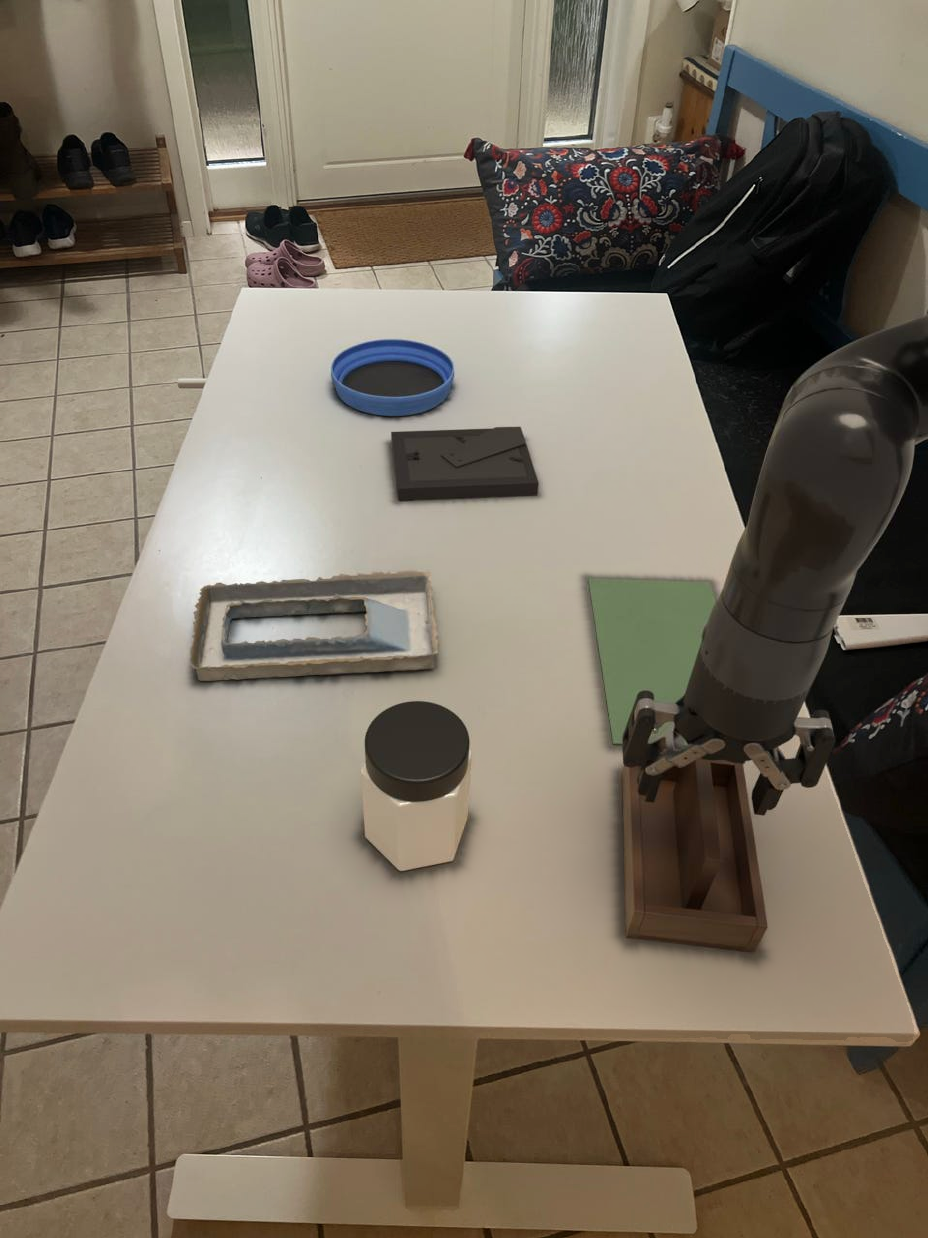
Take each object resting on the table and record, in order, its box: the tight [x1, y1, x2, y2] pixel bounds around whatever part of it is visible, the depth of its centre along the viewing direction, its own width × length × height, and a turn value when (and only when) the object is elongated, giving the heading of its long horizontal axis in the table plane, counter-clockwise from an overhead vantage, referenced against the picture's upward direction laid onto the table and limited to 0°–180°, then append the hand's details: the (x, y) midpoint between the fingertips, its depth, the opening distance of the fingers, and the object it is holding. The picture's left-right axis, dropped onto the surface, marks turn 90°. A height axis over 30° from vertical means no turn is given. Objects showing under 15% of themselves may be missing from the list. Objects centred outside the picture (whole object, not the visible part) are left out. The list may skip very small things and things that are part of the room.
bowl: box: [330, 338, 455, 417], centre depth 131 cm, size 18×18×4 cm
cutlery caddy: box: [621, 750, 769, 953], centre depth 72 cm, size 16×10×9 cm, turn 174°
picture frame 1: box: [189, 569, 440, 682], centre depth 92 cm, size 13×25×3 cm, turn 97°
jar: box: [360, 700, 473, 872], centre depth 72 cm, size 9×8×12 cm
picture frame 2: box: [390, 426, 540, 502], centre depth 116 cm, size 13×2×18 cm
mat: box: [587, 577, 717, 747], centre depth 93 cm, size 24×14×1 cm, turn 0°
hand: (702, 799), depth 70 cm, fingers open, 8 cm apart
